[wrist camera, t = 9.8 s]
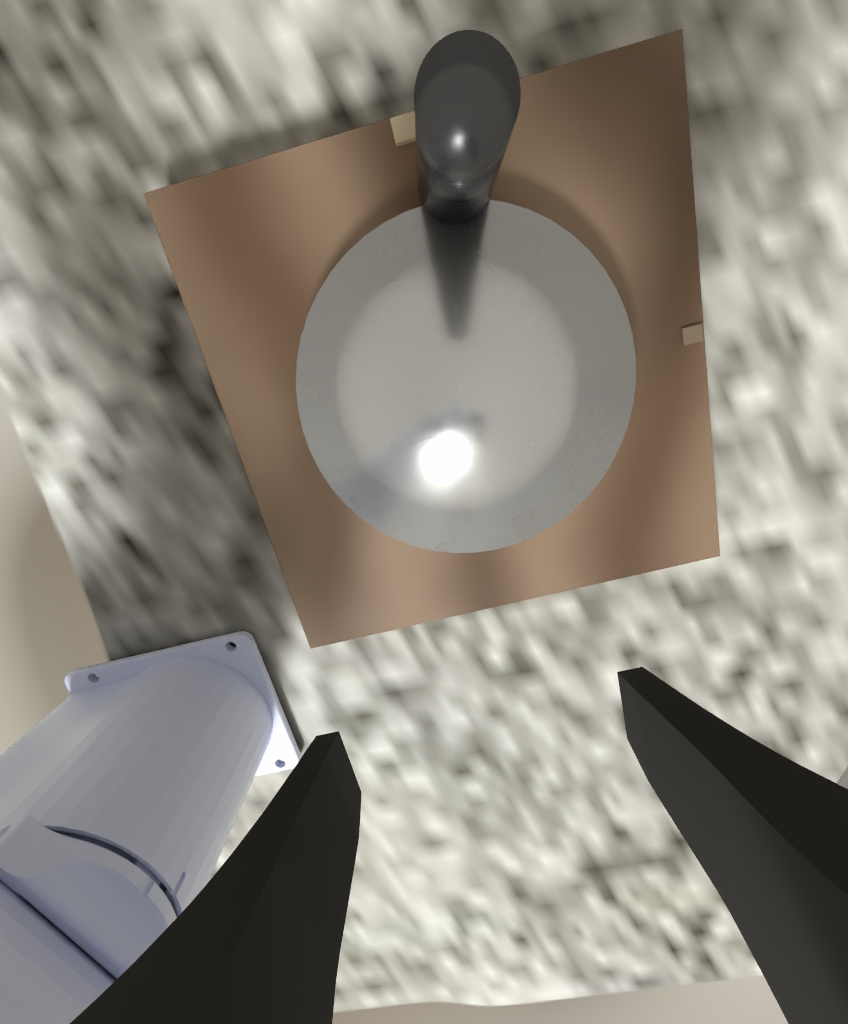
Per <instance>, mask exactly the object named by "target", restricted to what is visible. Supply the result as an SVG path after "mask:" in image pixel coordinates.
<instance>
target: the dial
mask: <svg viewBox="0 0 848 1024" xmlns="http://www.w3.org/2000/svg"><path fill="white" fill-rule="evenodd" d="M520 100H521V88H520V80H519V75H518V71H517V68H516V65H515V63H514V61H513V59H512V57H511V55H510V54H509V52H508V51H507V50H506V48H505V47H504V46H503V45H502V44H501V43H500V42H499V41H498V40H496V39H495V38H494V37H492V36H490V35H488V34H486V33H483V32H480V31H475V30H463V31H457V32H455V33H452V34H450V35H448V36H446V37H444V38H443V39H441V40H440V41H439V42H437V43H436V44H435V45H434V46H433V47H432V48H431V50H430V51H429V52H428V53H427V55H426V57H425V58H424V60H423V62H422V64H421V66H420V69H419V72H418V75H417V78H416V83H415V92H414V103H415V136H416V169H417V189H418V194H419V197H420V200H421V202H422V204H423V206H420V207H417V208H414V209H411V210H408V211H406V212H404V213H402V214H400V215H398V216H396V217H394V218H392V219H390V220H388V221H386V222H384V223H383V224H381V225H380V226H378V227H377V228H375V229H374V230H373V231H371V232H370V233H368V234H367V235H365V236H364V237H363V238H362V239H361V240H360V241H359V242H357V243H356V244H355V245H354V246H353V247H352V248H351V249H350V250H349V251H348V252H347V253H346V254H345V255H344V256H343V257H342V259H341V260H340V261H339V262H338V263H337V265H336V266H335V267H334V268H333V270H332V271H331V272H330V274H329V275H328V277H327V278H326V280H325V282H324V283H323V285H322V286H321V288H320V290H319V291H318V293H317V295H316V297H315V300H314V302H313V304H312V306H311V309H310V311H309V313H308V315H307V319H306V322H305V325H304V328H303V332H302V335H301V339H300V345H299V351H298V357H297V366H296V393H297V405H298V411H299V416H300V420H301V425H302V430H303V433H304V435H305V438H306V441H307V444H308V447H309V450H310V452H311V454H312V456H313V458H314V460H315V462H316V464H317V466H318V468H319V470H320V472H321V473H322V475H323V476H324V478H325V479H326V481H327V482H328V484H329V485H330V487H331V488H332V489H333V491H334V492H335V493H336V494H337V495H338V496H339V497H340V499H341V500H342V501H343V502H344V503H345V504H346V505H347V506H348V507H349V508H350V509H351V510H352V511H353V512H355V513H356V514H357V515H358V516H359V517H360V518H361V519H363V520H364V521H366V522H367V523H369V524H370V525H371V526H373V527H374V528H376V529H377V530H379V531H381V532H383V533H385V534H387V535H389V536H390V537H392V538H394V539H396V540H399V541H402V542H404V543H407V544H410V545H412V546H416V547H420V548H424V549H428V550H432V551H440V552H449V553H476V552H483V551H491V550H496V549H500V548H503V547H507V546H511V545H514V544H517V543H519V542H522V541H524V540H527V539H529V538H532V537H534V536H536V535H538V534H539V533H541V532H543V531H545V530H547V529H549V528H550V527H552V526H553V525H555V524H556V523H558V522H559V521H560V520H562V519H563V518H565V517H566V516H567V515H569V514H570V513H571V512H572V511H573V510H574V509H575V508H576V507H577V506H579V505H580V504H581V503H582V502H583V501H584V500H585V499H586V497H587V496H588V495H589V494H590V493H591V492H592V491H593V489H594V488H595V487H596V486H597V485H598V483H599V482H600V480H601V479H602V478H603V476H604V475H605V473H606V472H607V470H608V469H609V467H610V466H611V464H612V462H613V460H614V458H615V456H616V454H617V452H618V450H619V448H620V446H621V443H622V441H623V438H624V435H625V433H626V430H627V427H628V424H629V420H630V416H631V412H632V407H633V403H634V394H635V385H636V356H635V348H634V341H633V334H632V330H631V327H630V323H629V320H628V316H627V312H626V310H625V307H624V305H623V303H622V300H621V298H620V296H619V293H618V291H617V289H616V287H615V285H614V284H613V282H612V280H611V279H610V277H609V275H608V274H607V272H606V271H605V269H604V268H603V266H602V265H601V264H600V263H599V261H598V260H597V259H596V258H595V256H594V255H593V254H592V253H591V252H590V250H589V249H588V248H587V247H585V246H584V245H583V244H582V243H581V242H580V241H579V240H578V239H577V238H576V237H575V236H573V235H572V234H571V233H570V232H568V231H567V230H565V229H564V228H563V227H561V226H560V225H558V224H557V223H555V222H554V221H552V220H551V219H549V218H546V217H544V216H542V215H540V214H538V213H536V212H534V211H532V210H530V209H527V208H523V207H520V206H517V205H513V204H510V203H507V202H501V201H494V200H489V198H490V195H491V192H492V189H493V187H494V184H495V181H496V178H497V175H498V172H499V169H500V166H501V163H502V160H503V157H504V154H505V151H506V148H507V145H508V143H509V140H510V137H511V134H512V131H513V128H514V125H515V122H516V119H517V116H518V112H519V107H520Z"/></svg>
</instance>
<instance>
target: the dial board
mask: <svg viewBox="0 0 848 1024" xmlns="http://www.w3.org/2000/svg"><path fill="white" fill-rule="evenodd" d="M519 80H520V88H521V100H520V107H519V112H518V116H517V119H516V122H515V125H514V128H513V131H512V134H511V137H510V140H509V143H508V145H507V148H506V151H505V154H504V157H503V160H502V163H501V166H500V169H499V172H498V175H497V178H496V181H495V184H494V187H493V189H492V192H491V195H490V198H489V200H494V201H501V202H507V203H510V204H513V205H517V206H520V207H523V208H527V209H530V210H532V211H534V212H536V213H538V214H540V215H542V216H544V217H546V218H549V219H551V220H552V221H554V222H555V223H557V224H558V225H560V226H561V227H563V228H564V229H565V230H567V231H568V232H570V233H571V234H572V235H573V236H575V237H576V238H577V239H578V240H579V241H580V242H581V243H582V244H583V245H584V246H585V247H587V248H588V249H589V250H590V252H591V253H592V254H593V255H594V256H595V258H596V259H597V260H598V261H599V263H600V264H601V265H602V266H603V268H604V269H605V271H606V272H607V274H608V275H609V277H610V279H611V280H612V282H613V284H614V285H615V287H616V289H617V291H618V293H619V296H620V298H621V300H622V303H623V305H624V307H625V310H626V312H627V316H628V320H629V323H630V327H631V330H632V334H633V341H634V348H635V356H636V385H635V394H634V403H633V407H632V412H631V416H630V420H629V424H628V427H627V430H626V433H625V435H624V438H623V441H622V443H621V446H620V448H619V450H618V452H617V454H616V456H615V458H614V460H613V462H612V464H611V466H610V467H609V469H608V470H607V472H606V473H605V475H604V476H603V478H602V479H601V480H600V482H599V483H598V485H597V486H596V487H595V488H594V489H593V491H592V492H591V493H590V494H589V495H588V496H587V497H586V499H585V500H584V501H583V502H582V503H581V504H580V505H579V506H577V507H576V508H575V509H574V510H573V511H572V512H571V513H570V514H569V515H567V516H566V517H565V518H563V519H562V520H560V521H559V522H558V523H556V524H555V525H553V526H552V527H550V528H549V529H547V530H545V531H543V532H541V533H539V534H538V535H536V536H534V537H532V538H529V539H527V540H524V541H522V542H519V543H517V544H514V545H511V546H507V547H503V548H500V549H496V550H491V551H483V552H476V553H449V552H440V551H432V550H428V549H424V548H420V547H416V546H412V545H410V544H407V543H404V542H402V541H399V540H396V539H394V538H392V537H390V536H389V535H387V534H385V533H383V532H381V531H379V530H377V529H376V528H374V527H373V526H371V525H370V524H369V523H367V522H366V521H364V520H363V519H361V518H360V517H359V516H358V515H357V514H356V513H355V512H353V511H352V510H351V509H350V508H349V507H348V506H347V505H346V504H345V503H344V502H343V501H342V500H341V499H340V497H339V496H338V495H337V494H336V493H335V492H334V491H333V489H332V488H331V487H330V485H329V484H328V482H327V481H326V479H325V478H324V476H323V475H322V473H321V472H320V470H319V468H318V466H317V464H316V462H315V460H314V458H313V456H312V454H311V452H310V450H309V447H308V444H307V441H306V438H305V435H304V433H303V430H302V425H301V420H300V416H299V411H298V405H297V393H296V366H297V357H298V351H299V345H300V339H301V335H302V332H303V328H304V325H305V322H306V319H307V315H308V313H309V311H310V309H311V306H312V304H313V302H314V300H315V297H316V295H317V293H318V291H319V290H320V288H321V286H322V285H323V283H324V282H325V280H326V278H327V277H328V275H329V274H330V272H331V271H332V270H333V268H334V267H335V266H336V265H337V263H338V262H339V261H340V260H341V259H342V257H343V256H344V255H345V254H346V253H347V252H348V251H349V250H350V249H351V248H352V247H353V246H354V245H355V244H356V243H357V242H359V241H360V240H361V239H362V238H363V237H364V236H365V235H367V234H368V233H370V232H371V231H373V230H374V229H375V228H377V227H378V226H380V225H381V224H383V223H384V222H386V221H388V220H390V219H392V218H394V217H396V216H398V215H400V214H402V213H404V212H406V211H408V210H411V209H414V208H417V207H420V206H423V204H422V202H421V200H420V197H419V194H418V189H417V169H416V136H415V111H412V112H408V113H405V114H402V115H399V116H395V117H392V118H389V119H386V120H383V121H379V122H376V123H373V124H369V125H366V126H363V127H360V128H356V129H353V130H350V131H346V132H343V133H340V134H337V135H333V136H330V137H327V138H324V139H320V140H317V141H314V142H310V143H307V144H304V145H301V146H297V147H294V148H291V149H287V150H284V151H281V152H278V153H274V154H271V155H268V156H265V157H261V158H258V159H255V160H251V161H248V162H245V163H242V164H238V165H235V166H232V167H229V168H225V169H222V170H219V171H215V172H212V173H209V174H206V175H202V176H199V177H196V178H192V179H189V180H186V181H183V182H179V183H176V184H173V185H170V186H166V187H163V188H160V189H156V190H153V191H150V192H147V193H143V194H144V196H145V199H146V202H147V205H148V207H149V210H150V213H151V215H152V218H153V221H154V224H155V226H156V229H157V232H158V235H159V237H160V240H161V243H162V245H163V248H164V251H165V254H166V256H167V259H168V262H169V264H170V267H171V270H172V273H173V275H174V278H175V281H176V283H177V286H178V289H179V292H180V294H181V297H182V300H183V303H184V305H185V308H186V311H187V313H188V316H189V319H190V322H191V324H192V327H193V330H194V332H195V335H196V338H197V341H198V343H199V346H200V349H201V352H202V354H203V357H204V360H205V362H206V365H207V368H208V371H209V373H210V376H211V379H212V381H213V384H214V387H215V390H216V392H217V395H218V398H219V401H220V403H221V406H222V409H223V411H224V414H225V417H226V420H227V422H228V425H229V428H230V430H231V433H232V436H233V439H234V441H235V444H236V447H237V450H238V452H239V455H240V458H241V460H242V463H243V466H244V469H245V471H246V474H247V477H248V479H249V482H250V485H251V488H252V490H253V493H254V496H255V498H256V501H257V504H258V507H259V509H260V512H261V515H262V518H263V520H264V523H265V526H266V528H267V531H268V534H269V537H270V539H271V542H272V545H273V547H274V550H275V553H276V556H277V558H278V561H279V564H280V567H281V569H282V572H283V575H284V577H285V580H286V583H287V586H288V588H289V591H290V594H291V596H292V599H293V602H294V605H295V607H296V610H297V613H298V616H299V618H300V621H301V624H302V626H303V629H304V632H305V635H306V637H307V640H308V643H309V645H310V648H315V647H319V646H324V645H328V644H333V643H337V642H342V641H346V640H350V639H355V638H359V637H364V636H368V635H373V634H377V633H381V632H386V631H390V630H395V629H399V628H403V627H408V626H412V625H417V624H421V623H426V622H430V621H434V620H439V619H443V618H448V617H452V616H456V615H461V614H465V613H470V612H474V611H479V610H483V609H487V608H492V607H496V606H501V605H505V604H509V603H514V602H518V601H523V600H527V599H532V598H536V597H540V596H545V595H549V594H554V593H558V592H563V591H567V590H571V589H576V588H580V587H585V586H589V585H593V584H598V583H602V582H607V581H611V580H616V579H620V578H624V577H629V576H633V575H638V574H642V573H646V572H651V571H655V570H660V569H664V568H669V567H673V566H677V565H682V564H686V563H691V562H695V561H699V560H704V559H708V558H713V557H717V556H720V549H719V535H718V522H717V508H716V494H715V480H714V466H713V452H712V438H711V425H710V411H709V397H708V383H707V369H706V355H705V341H704V328H703V314H702V300H701V286H700V272H699V258H698V244H697V231H696V217H695V203H694V189H693V175H692V161H691V147H690V134H689V120H688V106H687V92H686V78H685V64H684V50H683V37H682V29H681V30H677V31H674V32H671V33H668V34H664V35H661V36H658V37H654V38H651V39H648V40H645V41H641V42H638V43H635V44H631V45H628V46H625V47H622V48H618V49H615V50H612V51H609V52H605V53H602V54H599V55H595V56H592V57H589V58H586V59H582V60H579V61H576V62H573V63H569V64H566V65H563V66H559V67H556V68H553V69H550V70H546V71H543V72H540V73H536V74H533V75H530V76H527V77H523V78H520V79H519Z"/></svg>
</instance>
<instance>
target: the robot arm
mask: <svg viewBox="0 0 848 1024" xmlns="http://www.w3.org/2000/svg"><path fill="white" fill-rule="evenodd" d="M229 642H233V643H235V645H236V647H233V646H231V645H230V644H229ZM617 673H618V680H619V686H620V693H621V699H622V706H623V712H624V719H625V726H626V732H627V739H628V741H629V743H630V745H631V747H632V749H633V751H634V753H635V755H636V757H637V759H638V761H639V763H640V765H641V767H642V769H643V771H644V773H645V775H646V777H647V779H648V781H649V783H650V784H651V786H652V788H653V789H654V791H655V792H656V794H657V796H658V797H659V799H660V800H661V802H662V804H663V805H664V807H665V808H666V810H667V812H668V813H669V815H670V816H671V818H672V820H673V821H674V823H675V824H676V826H677V828H678V829H679V831H680V832H681V834H682V835H683V837H684V839H685V840H686V842H687V843H688V845H689V847H690V848H691V850H692V851H693V853H694V854H695V856H696V858H697V859H698V861H699V862H700V864H701V866H702V867H703V869H704V870H705V872H706V873H707V875H708V877H709V878H710V880H711V881H712V883H713V885H714V886H715V888H716V889H717V891H718V893H719V895H720V896H721V898H722V900H723V901H724V903H725V905H726V906H727V908H728V910H729V912H730V913H731V915H732V917H733V919H734V921H735V923H736V924H737V926H738V928H739V930H740V932H741V934H742V936H743V938H744V939H745V941H746V943H747V945H748V947H749V949H750V951H751V953H752V954H753V956H754V958H755V960H756V962H757V964H758V966H759V968H760V969H761V971H762V973H763V975H764V977H765V979H766V981H767V983H768V985H769V987H770V988H771V990H772V992H773V994H774V996H775V998H776V1000H777V1002H778V1004H779V1006H780V1008H781V1010H782V1011H783V1013H784V1015H785V1017H786V1019H787V1021H788V1023H789V1024H848V789H847V788H844V787H842V786H840V785H838V784H836V783H834V782H832V781H830V780H828V779H826V778H824V777H822V776H820V775H818V774H816V773H814V772H813V771H811V770H809V769H807V768H805V767H803V766H801V765H799V764H797V763H795V762H793V761H791V760H789V759H787V758H786V757H784V756H782V755H780V754H778V753H776V752H775V751H773V750H771V749H769V748H768V747H766V746H764V745H762V744H761V743H759V742H757V741H756V740H754V739H752V738H750V737H749V736H747V735H745V734H744V733H742V732H740V731H739V730H737V729H735V728H734V727H732V726H731V725H729V724H727V723H726V722H724V721H723V720H721V719H720V718H718V717H716V716H715V715H713V714H712V713H710V712H708V711H707V710H705V709H704V708H702V707H701V706H699V705H698V704H696V703H695V702H693V701H692V700H690V699H689V698H687V697H686V696H684V695H683V694H681V693H680V692H678V691H677V690H675V689H674V688H672V687H671V686H670V685H668V684H667V683H665V682H664V681H662V680H661V679H659V678H658V677H656V676H655V675H654V674H652V673H651V672H649V671H648V670H646V669H645V668H643V667H640V668H635V669H630V670H625V671H621V672H617ZM95 674H96V675H97V676H98V677H96V676H95ZM65 684H66V686H67V688H68V690H69V692H70V693H71V695H70V696H69V697H68V698H67V699H66V700H65V701H64V702H62V703H61V704H60V705H59V706H58V707H56V708H55V709H54V710H53V711H52V712H51V713H49V714H48V715H47V716H46V717H45V718H44V719H42V720H41V721H40V722H39V723H38V724H36V725H35V726H34V727H33V728H32V729H31V730H30V731H28V732H27V733H26V734H25V735H24V736H22V737H21V738H20V739H19V740H18V741H17V742H15V743H14V744H13V745H12V746H11V747H10V748H8V750H6V751H5V752H4V753H3V754H2V755H0V1024H332V1017H333V1006H334V995H335V985H336V976H337V969H338V962H339V954H340V948H341V942H342V936H343V930H344V924H345V918H346V912H347V907H348V901H349V895H350V889H351V883H352V877H353V871H354V865H355V858H356V852H357V846H358V839H359V826H360V809H361V790H360V788H359V785H358V782H357V779H356V777H355V774H354V771H353V769H352V766H351V763H350V760H349V758H348V755H347V752H346V750H345V747H344V744H343V741H342V739H341V736H340V733H339V731H338V732H334V733H329V734H324V735H319V736H316V737H315V739H314V740H313V742H312V743H311V744H310V746H309V747H308V749H307V750H306V752H305V753H304V755H303V756H302V758H301V753H300V751H299V748H298V746H297V744H296V741H295V739H294V736H293V734H292V731H291V729H290V726H289V724H288V721H287V719H286V716H285V714H284V711H283V709H282V706H281V704H280V702H279V699H278V697H277V694H276V692H275V689H274V687H273V684H272V682H271V679H270V677H269V674H268V672H267V669H266V667H265V664H264V662H263V660H262V657H261V655H260V652H259V650H258V647H257V645H256V642H255V640H254V638H253V636H252V635H251V634H250V633H249V632H246V631H239V632H235V633H231V634H226V635H222V636H218V637H213V638H209V639H205V640H200V641H196V642H192V643H187V644H183V645H179V646H174V647H170V648H166V649H162V650H157V651H153V652H149V653H144V654H140V655H136V656H131V657H127V658H123V659H118V660H114V661H110V662H105V663H101V664H97V665H92V666H88V667H84V668H79V669H75V670H73V671H72V672H70V673H69V674H67V676H66V677H65ZM279 759H281V760H284V761H280V760H279ZM293 768H294V769H293ZM288 769H293V771H292V772H291V774H290V775H289V777H288V778H287V779H286V781H285V782H284V784H283V785H282V787H281V788H280V790H279V791H278V792H277V794H276V795H275V797H274V798H273V799H272V801H271V802H270V804H269V805H268V807H267V808H266V809H265V811H264V812H263V814H262V815H261V816H260V818H259V819H258V820H257V821H256V823H255V824H254V825H253V827H252V828H251V829H250V831H249V832H248V833H247V835H246V836H245V837H244V839H243V840H242V841H241V843H240V844H239V845H238V846H237V848H236V849H235V850H234V852H233V853H232V854H231V856H230V857H229V858H228V859H227V861H226V862H225V863H224V864H223V866H222V867H221V868H220V869H219V870H218V872H217V873H216V874H215V875H214V876H213V878H212V879H211V880H210V881H209V882H208V880H209V878H210V876H211V874H212V871H213V869H214V867H215V864H216V862H217V860H218V858H219V855H220V853H221V851H222V849H223V846H224V844H225V842H226V840H227V837H228V835H229V833H230V830H231V828H232V826H233V824H234V821H235V819H236V817H237V815H238V812H239V810H240V808H241V805H242V803H243V801H244V799H245V796H246V794H247V792H248V790H249V787H250V785H251V783H252V780H253V778H254V776H259V775H264V774H269V773H274V772H278V771H283V770H288Z"/></svg>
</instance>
